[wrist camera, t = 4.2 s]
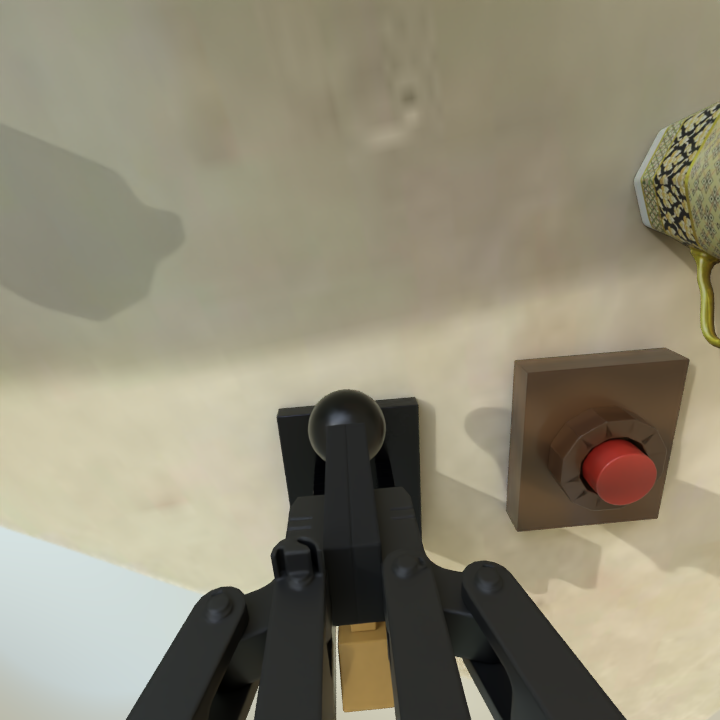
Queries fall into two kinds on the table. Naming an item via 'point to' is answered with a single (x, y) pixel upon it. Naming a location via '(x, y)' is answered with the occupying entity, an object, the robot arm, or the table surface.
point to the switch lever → (368, 640)
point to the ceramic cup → (687, 196)
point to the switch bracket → (388, 466)
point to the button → (619, 472)
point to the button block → (588, 432)
